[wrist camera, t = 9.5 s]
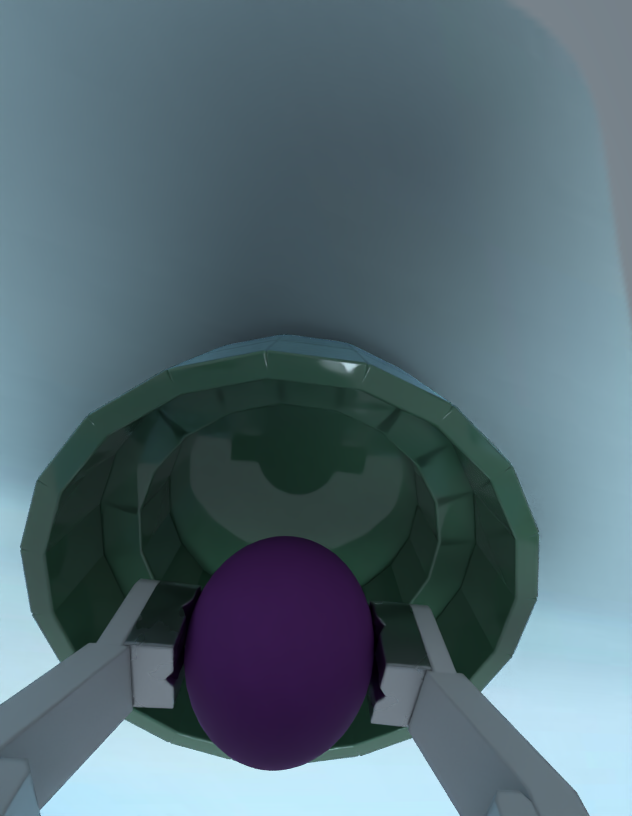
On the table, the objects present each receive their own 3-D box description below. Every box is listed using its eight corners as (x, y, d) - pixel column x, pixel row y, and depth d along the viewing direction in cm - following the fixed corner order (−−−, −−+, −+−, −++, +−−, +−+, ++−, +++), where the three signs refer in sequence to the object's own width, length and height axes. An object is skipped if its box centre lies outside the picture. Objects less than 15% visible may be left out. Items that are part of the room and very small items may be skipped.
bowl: (123, 310, 11) (-23, 312, 6) (496, 360, 12) (626, 396, 7) (136, 606, 15) (53, 749, 10) (416, 631, 15) (462, 776, 11)
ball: (220, 494, 9) (140, 653, 5) (372, 511, 9) (420, 675, 5) (214, 612, 10) (147, 818, 6) (348, 624, 11) (370, 831, 6)
